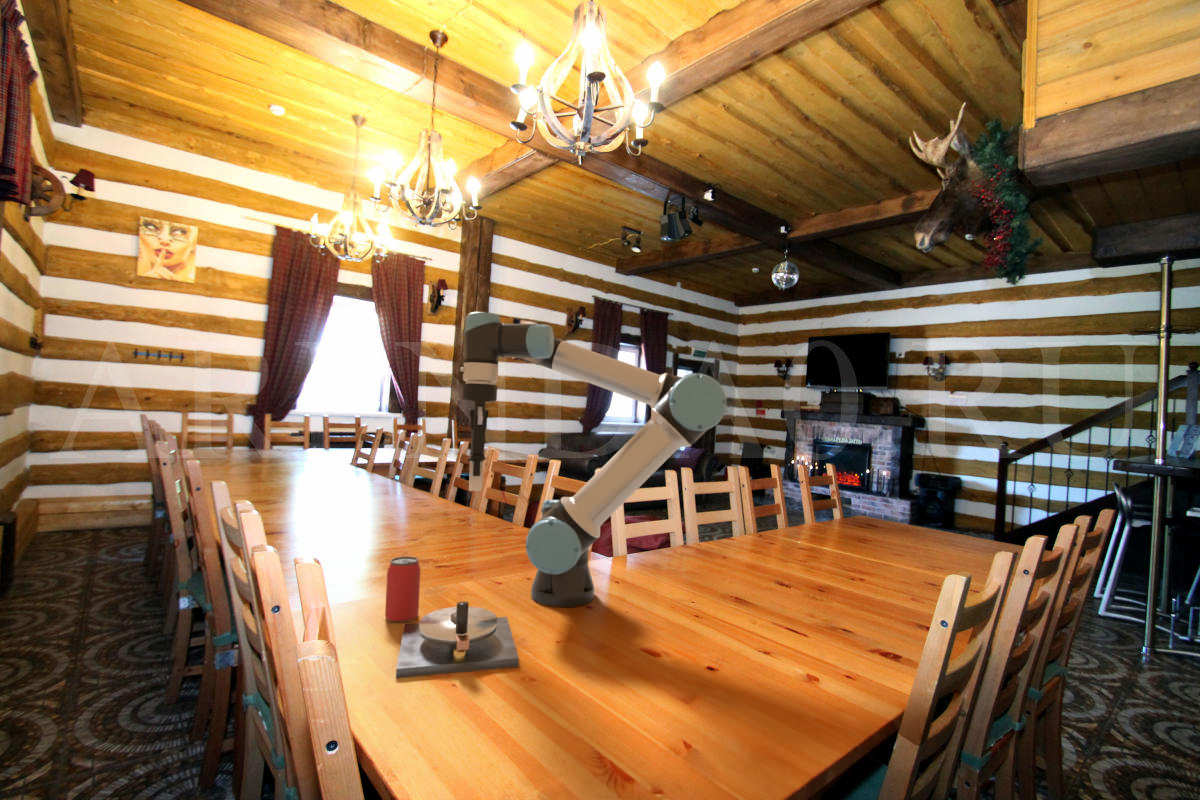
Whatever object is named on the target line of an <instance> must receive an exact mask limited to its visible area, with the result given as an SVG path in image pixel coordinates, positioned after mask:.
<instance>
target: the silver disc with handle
mask: <svg viewBox="0 0 1200 800" xmlns="http://www.w3.org/2000/svg"><path fill="white" fill-rule="evenodd" d="M469 604H470V603H469V601H458V602H457V603H456V606H451V607H444V608H441V609H437V610H434V611H431V612H428V613H427V614H425V615H424V616H422V618H420V621H419V622H418V623H419V634H420V636H421V637H422V638H423V639H425V640H427V641H429V642H433V643H437V644H445V645H456V649H457V650H467V649H469V643H473V642H477V641H480V640H483V639H485V638H487V637H489V636H491V635H492V634H493V633H494V632H495V631H496V629H497V617H498V616H497V614H495V612H493V611H491V610H489V609H487V608H483V607H476V606H469Z"/></svg>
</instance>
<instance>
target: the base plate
mask: <svg viewBox="0 0 1200 800" xmlns="http://www.w3.org/2000/svg"><path fill="white" fill-rule="evenodd" d="M519 659H520V657H519V654H518V651H517V648H516V643H515V640H514V636H513V634H512V630H511V627H510V623H509V620H508V617H507V616H501V617H500V616H497V629H496V631H495V632H494V633H493V634H492V635H491V636H489V637H487V638H485V639H483V640H480V641H477V642H473V643H469V649H467V650H457V649H456V645H445V644H437V643H433V642H429V641H427V640H425V639H423V638H422V637H421V636H420V634H419V622H409V623H404V626H403V631H402V637H401V642H400V647H399V653H398V658H397V664H396V670H395V679H400V678H401V679H402V678H411V677H412V678H413V677H424V676H431V675H432V676H434V675H444V674H455V673H456V674H457V673H465V672H475V671H488V670H498V669H507V668H508V669H510V668H519V662H520V661H519Z"/></svg>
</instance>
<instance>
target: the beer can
mask: <svg viewBox="0 0 1200 800" xmlns="http://www.w3.org/2000/svg"><path fill="white" fill-rule="evenodd" d="M389 561H390V564H389V566H388V568H387V573H386V593H385V611H384V615H385V618H386V620H387V621H389V622H392V623H405V621H406V622H409V620H410V621H413V620H414V619H416V618H417V617H418V616H419V610H420V609H419V608H420V607H419V605H420V587H421V586H420V583H421V567H420V566H421V565H420V563H419V559H418V557H415V556H399V557H395V558H392V559H391V560H389Z"/></svg>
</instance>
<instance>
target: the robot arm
mask: <svg viewBox="0 0 1200 800" xmlns="http://www.w3.org/2000/svg"><path fill="white" fill-rule="evenodd" d="M464 326H465V327H464V332H463V335H464V338H463V339H464V341H463V342H464V345H463V366H462V367H460V369H459V371H460V372H463V374H462V381H464V382H465V383H463V384H462V386H461V387H462V388H461V390H462V391H461V399H462V401H466V402H467V401H468V402H469V401H470V402H473V403H472V409H470V408H469V410H468V411H469V412H468V416H469V428H470V452H469V456H470V457H467V462H469V478H468V479H469V480H468V481H469V482H468V491H469V492H483V475H484V474H483V472H484V461H486V456H485V440H486V430H487V427H488V424H487V423H488V418H489V410H488V409H486V402H489V403H490V402H491V403H494V402H497V399H498V398H497V397H498V386H497V385H496V383H498V382H499V381H498V380H499V358H513V359H524V360H526V361H528V362H530V363H531V364H534V365H537V366H542V367H544V368H547V369H550V370H552V371H556V372H558V373H561V374H563V375H566V376H568V377H569V376H570V377H571V378H575V379H577V380H580V381H583V382H586V383H589V384H591V385H594V386H596V387H598V388H599V387H600V388H602V389H605V390H608V391H610V392H612V393H613V392H614V393H615V394H619V395H621V396H625V397H627V398H630V399H633V400H634V401H638V402H640V403H643V404H646V405H649V407H650V408H651V413H650V414H651V415H650V419H649V420H648V421H647V422H646V423H645V424H643V426H642V427H641V428H640V429H639V430H638V431H637V432H635V434H634V435H633V436H631V438H630V439H629V440H628V441H627V442H626V443H625V444H623V446H622V447H621V448H620V449H619V450H618V451H617V452H616V453H615V454H614V455H613V456H612V457H611V458H610V459H609V460H608V461H607V462H606V463H605V464H604V465H603V466H602V467H601V468H600V469H599V470H598V471H597V472H596V473H595V474H594V475H593V476H592V477H591V478H590V479H589V480H588V481H587V482H586V483H585V484H584V485H583V486H582V487H581V488H580V489H579V490H578V491H577V492H576V493H575V494H574V495H572V496H562V497H560V499H546V500H543V502H542V506H541V509H540V511H541V518H540V519H539V520H538V521H537V522H535V523H534V524H532V526H531V527H530V529H529V531H528V533H527V536H526V540H525V550H526V555H527V558H528V559H529V561H530V563H531V564H532V565H533V566H534V567H535V568H536V569H537V570H536V573H535V576H534V579H533V581H532V584H531V589H530V591H531V593H530V596H531V597H530V598H531V599H533V601H535V602H537V603H538V604H542V605H545V606H550V607H558V608H560V607H561V608H562V607H563V608H568V607H569V608H570V607H579V606H583V605H585V604H589V603H590V602H592V601H593V600H594V598H595V585H594V581H593V578H592V574H591V571H590V567H589V551H590V550H589V548H590V547H591V546H592V545H593V544H594V543H595V542H596V541H597V540H598V539H599V538H600V537H601V526H602V525H603V524H604V522H606V521H607V520H608V519H609V518H610V517H611V516H612V515H613V514H614V513H615V512H616V511H617V510H618V509H619V508H620V507H621V506H622V505H623V504H624V503H625V502H626V501H627V500H628V499H629V498H630V497H631V496H632V495H633V494H634V493H635V492H637V490H638V489H640V487H641V486H642V485H643V484H644V483H645V482H646V481H647V480H648V479H649V478H650V477H651V476H652V475H653V474H654V473H655V472H657V470H658V469H659V468H660V467H661V466H662V465H663V464H664V463H665V462H666V461H668V459H669V458H671V456H672V455H673V454H674V453H675V452H676V451H677V450H678V449H680V448H682V447H683V448H684V447H685V448H690V447H691V446H693V444H695V443H696V442H697V441H698V440H699V439H700V438H701V437H702V436H703V435H704V434H705V433H706V432H707V431H708V430H709V429H712V428H714V427H715V426H717V425H718V424H719V423H720V422H721V421H722V419H723V418H724V416H725V415H724V414H725V413H726V410H727V395H726V392H725V390H724V388H723V386H722V385H721V384H720V383H719V382H718V380H716V379H715V378H713V377H711V376H710V375H707V374H704V373H701V372H700V373H699V372H694V373H690V374H687V375H684V376H677V375H674V374H671V373H669V372H664V373H661V374H658V373H655V372H652V371H649V370H647V369H645V368H641V367H638V366H635V365H632V364H630V363H627V362H625V361H622V360H619V359H616V358H613V357H611V356H608V355H604V354H602V353H600V352H599V353H598V352H596V351H594V350H593V351H592V350H590V349H588V348H585V347H582V346H579V345H576V344H574V343H570V342H568V341H564V340H563V339H560V338H556V337H555V334H554V330H553V327H552V326H551V325H549V324H540V323H503V322H501V317H500V316H499V315H498V314H497V313H493V312H485V311H473V312H469V314H467V315H466V317H465V324H464Z"/></svg>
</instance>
